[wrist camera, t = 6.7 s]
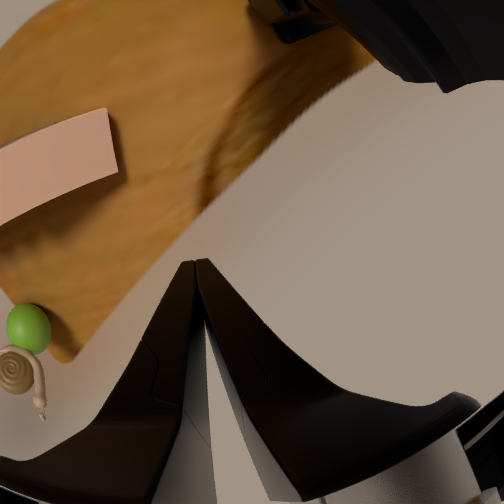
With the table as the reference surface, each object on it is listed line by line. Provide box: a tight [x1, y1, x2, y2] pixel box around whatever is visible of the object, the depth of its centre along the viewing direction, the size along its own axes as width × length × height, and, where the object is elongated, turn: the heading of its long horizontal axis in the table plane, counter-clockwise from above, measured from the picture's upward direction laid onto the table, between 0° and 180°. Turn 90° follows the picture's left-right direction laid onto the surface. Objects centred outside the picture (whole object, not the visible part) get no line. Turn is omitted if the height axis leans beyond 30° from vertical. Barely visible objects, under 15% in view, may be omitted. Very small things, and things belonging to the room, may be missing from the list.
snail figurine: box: [0, 303, 51, 421], centre depth 18 cm, size 5×6×12 cm
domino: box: [0, 108, 118, 226], centre depth 13 cm, size 1×4×10 cm
